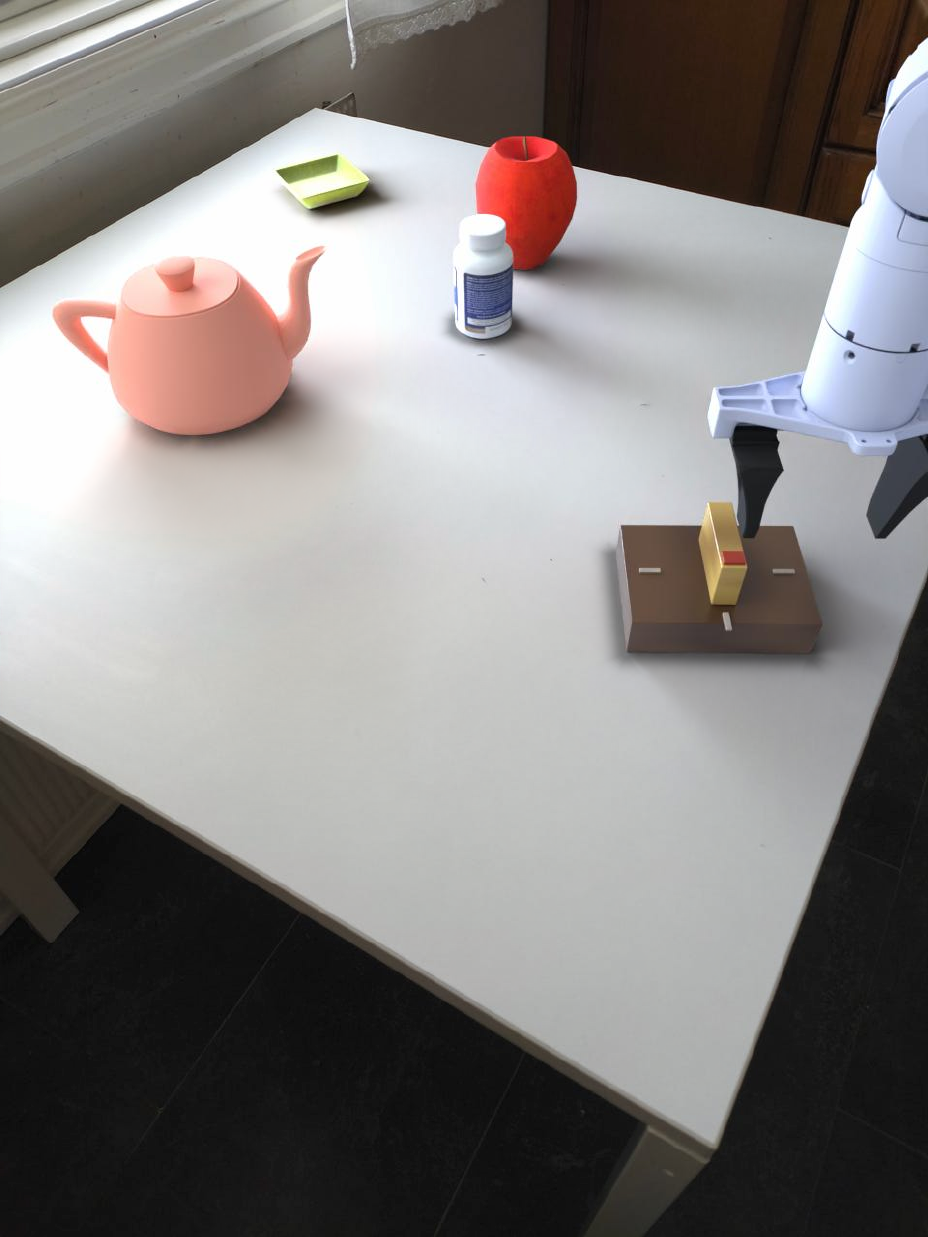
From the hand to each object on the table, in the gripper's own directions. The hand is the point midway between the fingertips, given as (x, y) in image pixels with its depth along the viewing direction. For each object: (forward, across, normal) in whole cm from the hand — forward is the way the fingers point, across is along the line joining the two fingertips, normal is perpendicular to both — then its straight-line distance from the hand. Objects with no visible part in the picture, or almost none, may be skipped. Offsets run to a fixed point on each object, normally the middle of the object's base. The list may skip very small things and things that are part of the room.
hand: (810, 526), depth 53 cm
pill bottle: (+9, -20, +37) cm, 43 cm away
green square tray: (+9, -39, +65) cm, 77 cm away
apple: (+9, -16, +49) cm, 53 cm away
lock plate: (+9, -4, +2) cm, 10 cm away
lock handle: (+6, -4, +2) cm, 8 cm away
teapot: (+9, -43, +26) cm, 51 cm away
